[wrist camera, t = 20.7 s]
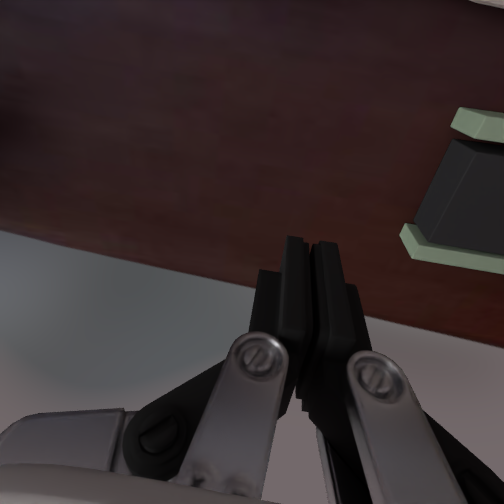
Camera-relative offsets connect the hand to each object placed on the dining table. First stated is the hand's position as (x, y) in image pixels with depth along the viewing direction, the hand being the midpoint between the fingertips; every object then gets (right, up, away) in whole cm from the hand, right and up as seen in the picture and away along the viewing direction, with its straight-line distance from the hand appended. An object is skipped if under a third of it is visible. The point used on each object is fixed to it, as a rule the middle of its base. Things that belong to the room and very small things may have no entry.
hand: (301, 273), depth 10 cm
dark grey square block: (+15, +5, +12) cm, 20 cm away
